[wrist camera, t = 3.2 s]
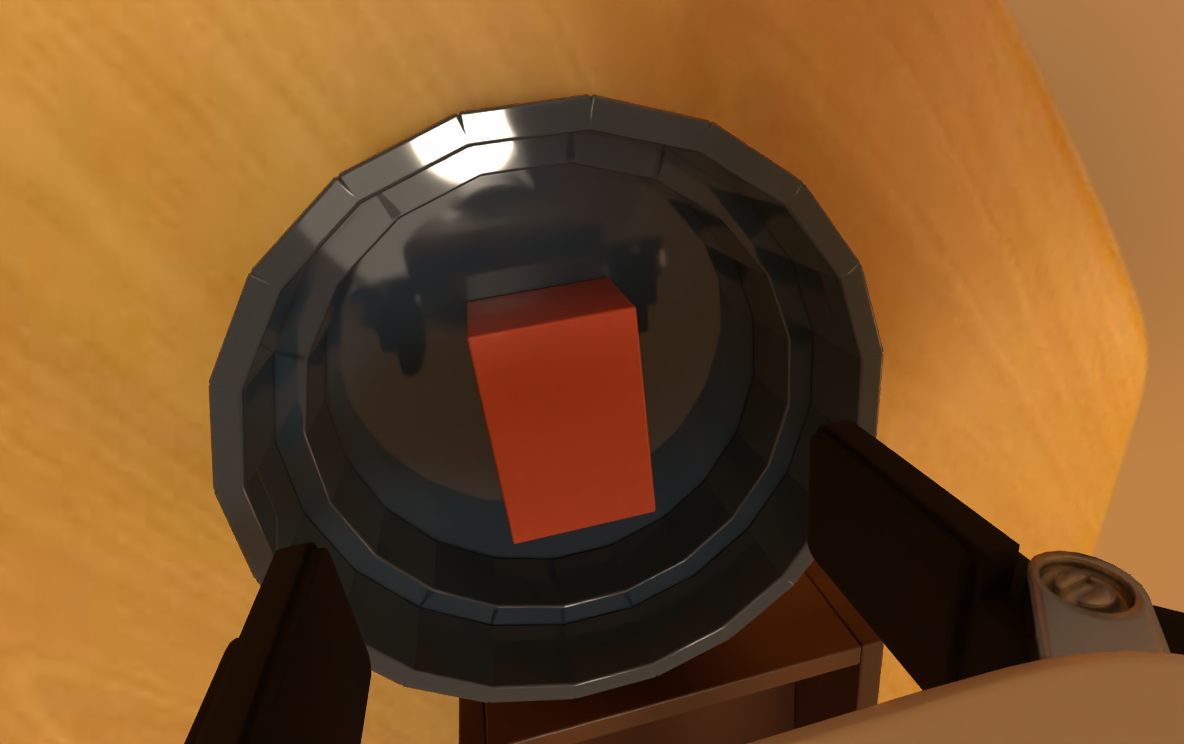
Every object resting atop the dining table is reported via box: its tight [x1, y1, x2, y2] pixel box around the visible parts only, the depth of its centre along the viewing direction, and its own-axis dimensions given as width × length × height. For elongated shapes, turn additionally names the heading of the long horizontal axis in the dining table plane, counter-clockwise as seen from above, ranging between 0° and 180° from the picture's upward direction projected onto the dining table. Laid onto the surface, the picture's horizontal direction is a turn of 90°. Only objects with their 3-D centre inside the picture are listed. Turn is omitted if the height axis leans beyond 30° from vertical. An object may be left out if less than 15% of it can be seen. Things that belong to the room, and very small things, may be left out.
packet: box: [467, 277, 656, 544], centre depth 16 cm, size 4×6×3 cm, turn 7°
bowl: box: [209, 94, 883, 703], centre depth 16 cm, size 15×15×5 cm
